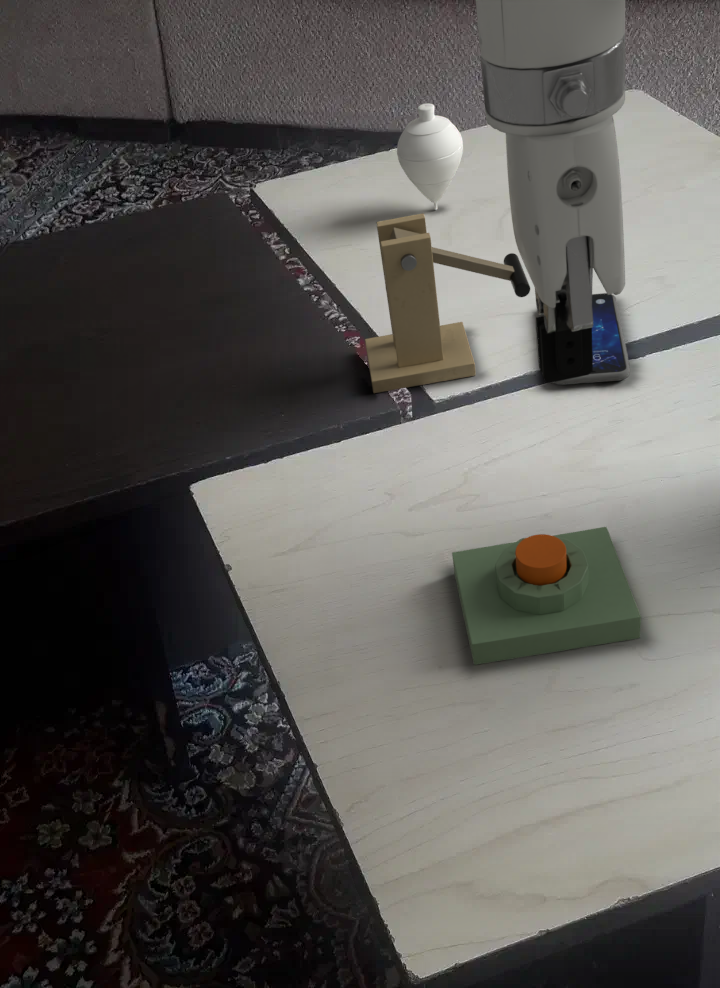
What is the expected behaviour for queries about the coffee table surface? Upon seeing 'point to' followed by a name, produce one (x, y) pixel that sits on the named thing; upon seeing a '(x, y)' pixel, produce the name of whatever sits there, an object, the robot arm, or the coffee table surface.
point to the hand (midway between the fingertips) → (565, 371)
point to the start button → (541, 559)
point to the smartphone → (605, 343)
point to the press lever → (479, 264)
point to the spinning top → (430, 152)
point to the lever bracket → (414, 316)
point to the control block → (545, 600)
